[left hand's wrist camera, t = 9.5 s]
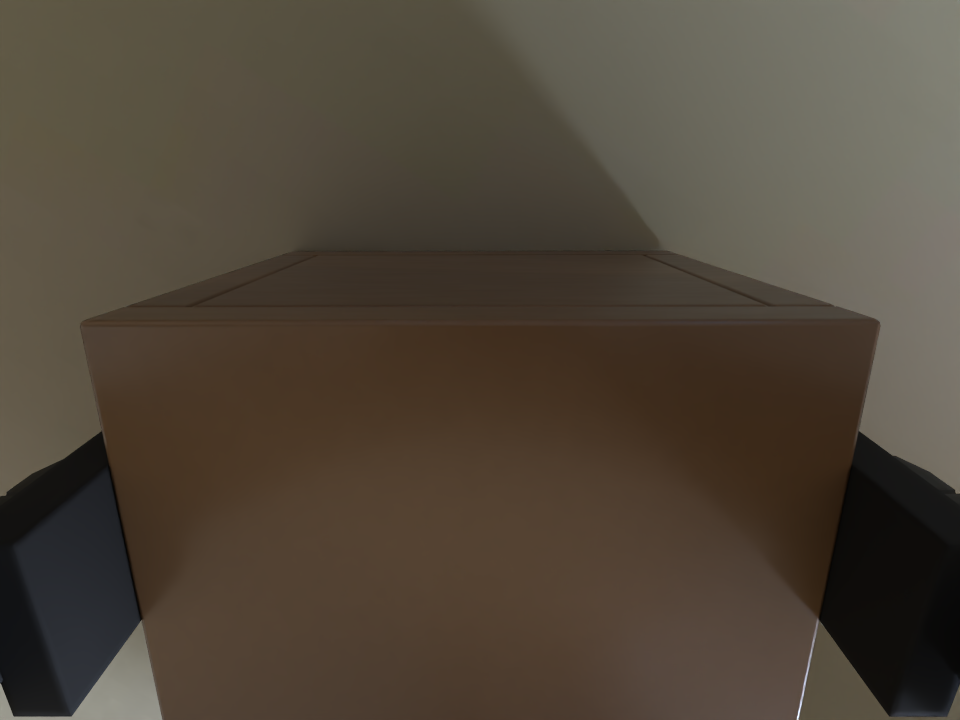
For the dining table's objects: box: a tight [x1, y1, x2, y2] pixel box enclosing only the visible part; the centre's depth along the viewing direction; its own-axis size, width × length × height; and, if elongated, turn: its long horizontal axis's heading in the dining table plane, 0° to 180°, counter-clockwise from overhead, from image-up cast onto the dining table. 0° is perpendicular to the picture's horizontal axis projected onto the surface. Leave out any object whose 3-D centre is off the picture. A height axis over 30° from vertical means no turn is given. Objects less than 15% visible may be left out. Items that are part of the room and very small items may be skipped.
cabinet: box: [80, 251, 880, 720], centre depth 14 cm, size 18×11×9 cm, turn 0°
